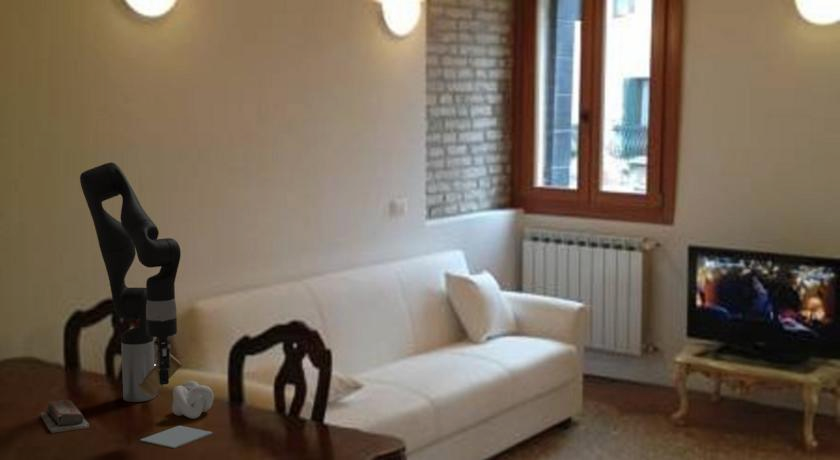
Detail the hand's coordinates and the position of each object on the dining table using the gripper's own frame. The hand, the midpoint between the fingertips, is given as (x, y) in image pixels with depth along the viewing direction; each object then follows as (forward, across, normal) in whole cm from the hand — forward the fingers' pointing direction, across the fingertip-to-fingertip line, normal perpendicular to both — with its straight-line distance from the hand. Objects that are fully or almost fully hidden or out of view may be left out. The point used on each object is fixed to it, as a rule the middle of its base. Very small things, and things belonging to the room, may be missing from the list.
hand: (163, 381), depth 261 cm
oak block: (+2, 0, -5) cm, 5 cm away
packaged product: (+16, -24, -25) cm, 38 cm away
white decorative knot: (+15, -20, +8) cm, 26 cm away
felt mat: (+15, 0, +3) cm, 15 cm away
